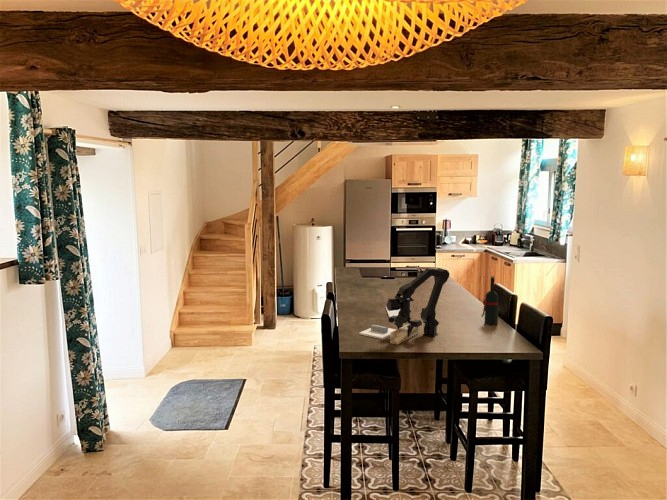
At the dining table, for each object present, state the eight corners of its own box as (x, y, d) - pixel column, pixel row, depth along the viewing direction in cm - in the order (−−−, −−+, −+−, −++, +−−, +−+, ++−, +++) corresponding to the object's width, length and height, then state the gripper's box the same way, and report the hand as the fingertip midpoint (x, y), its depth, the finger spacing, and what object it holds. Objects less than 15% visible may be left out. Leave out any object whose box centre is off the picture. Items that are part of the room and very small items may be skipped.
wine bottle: (478, 322, 320) (480, 275, 316) (494, 321, 322) (495, 274, 317) (484, 325, 312) (485, 277, 308) (499, 325, 314) (501, 276, 310)
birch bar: (418, 333, 298) (418, 323, 297) (397, 344, 279) (397, 333, 278) (411, 332, 301) (411, 322, 300) (390, 343, 282) (390, 332, 281)
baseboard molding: (402, 308, 359) (385, 308, 359) (402, 304, 358) (385, 304, 358) (408, 320, 328) (389, 320, 328) (408, 316, 327) (389, 316, 328)
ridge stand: (398, 331, 302) (398, 325, 302) (382, 339, 288) (382, 332, 288) (376, 327, 312) (376, 320, 311) (359, 334, 298) (359, 327, 297)
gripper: (383, 309, 287) (383, 336, 289) (412, 314, 275) (412, 342, 278) (393, 305, 295) (393, 331, 298) (422, 310, 284) (422, 337, 286)
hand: (404, 335), depth 290 cm, fingers closed on birch bar, 4 cm apart
